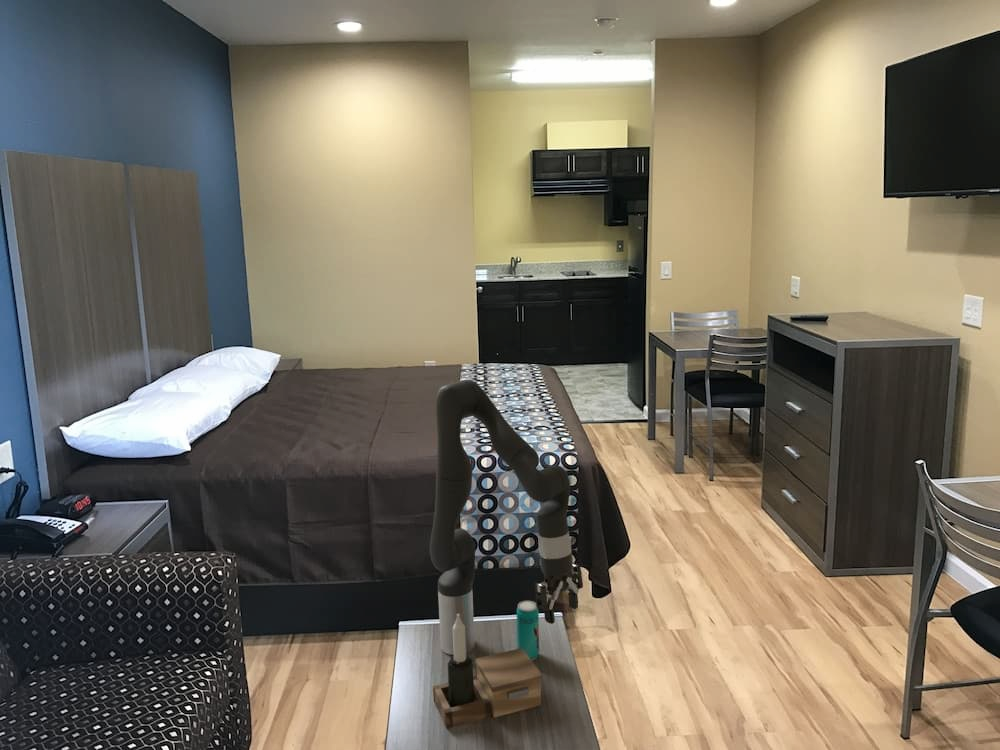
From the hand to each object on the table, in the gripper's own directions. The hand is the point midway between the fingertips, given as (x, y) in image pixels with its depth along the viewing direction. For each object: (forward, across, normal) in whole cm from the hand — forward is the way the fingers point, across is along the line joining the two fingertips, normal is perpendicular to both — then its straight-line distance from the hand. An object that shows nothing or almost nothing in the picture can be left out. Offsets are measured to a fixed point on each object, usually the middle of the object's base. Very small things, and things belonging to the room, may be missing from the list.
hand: (562, 615), depth 185 cm
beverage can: (+20, -7, -20) cm, 30 cm away
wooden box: (+20, +14, -14) cm, 29 cm away
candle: (+20, +20, -17) cm, 33 cm away
